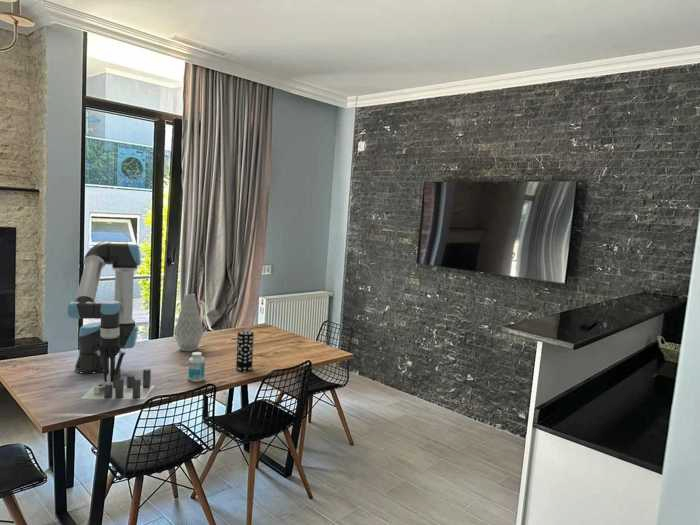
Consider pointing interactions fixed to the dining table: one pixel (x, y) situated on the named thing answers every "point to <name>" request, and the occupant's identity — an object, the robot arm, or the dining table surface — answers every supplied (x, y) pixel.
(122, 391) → the spacers
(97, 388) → the nut
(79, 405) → the dining table surface
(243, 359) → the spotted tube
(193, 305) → the vase
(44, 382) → the dining table surface
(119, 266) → the robot arm
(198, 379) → the pill bottle
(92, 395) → the board
